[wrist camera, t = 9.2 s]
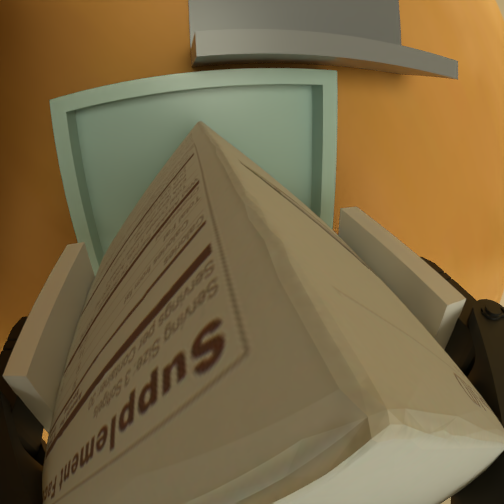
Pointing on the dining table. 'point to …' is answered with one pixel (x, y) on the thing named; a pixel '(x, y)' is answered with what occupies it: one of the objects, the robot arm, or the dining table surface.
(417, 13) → the dining table surface
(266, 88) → the tray
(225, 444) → the supplement box
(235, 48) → the bay
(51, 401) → the robot arm
